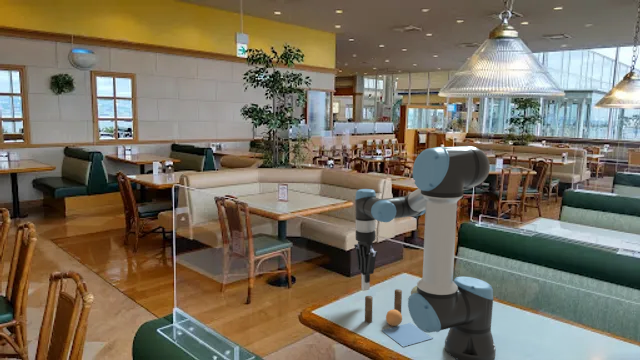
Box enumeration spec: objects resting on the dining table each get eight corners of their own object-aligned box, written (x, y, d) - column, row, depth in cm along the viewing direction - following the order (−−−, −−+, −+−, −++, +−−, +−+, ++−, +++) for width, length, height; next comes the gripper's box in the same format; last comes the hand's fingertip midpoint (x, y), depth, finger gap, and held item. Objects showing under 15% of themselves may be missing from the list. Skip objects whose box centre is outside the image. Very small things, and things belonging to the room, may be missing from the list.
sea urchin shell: (407, 296, 178) (411, 278, 182) (410, 304, 184) (415, 286, 188) (430, 301, 174) (434, 282, 178) (433, 309, 180) (437, 290, 184)
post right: (402, 314, 167) (403, 291, 166) (396, 315, 166) (397, 292, 164) (398, 311, 169) (399, 288, 168) (392, 313, 168) (393, 290, 167)
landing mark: (432, 338, 150) (432, 338, 150) (403, 347, 145) (403, 346, 145) (410, 323, 160) (410, 322, 160) (381, 330, 155) (381, 330, 155)
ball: (397, 324, 162) (406, 324, 157) (384, 327, 159) (393, 328, 154) (394, 308, 163) (403, 308, 158) (381, 311, 160) (390, 311, 155)
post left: (373, 321, 162) (373, 298, 160) (367, 323, 160) (367, 299, 159) (369, 318, 164) (369, 295, 162) (363, 320, 163) (363, 296, 161)
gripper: (383, 232, 167) (383, 293, 171) (364, 225, 179) (364, 282, 182) (366, 235, 164) (366, 297, 167) (348, 227, 176) (348, 285, 179)
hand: (365, 289), depth 175 cm, fingers closed
